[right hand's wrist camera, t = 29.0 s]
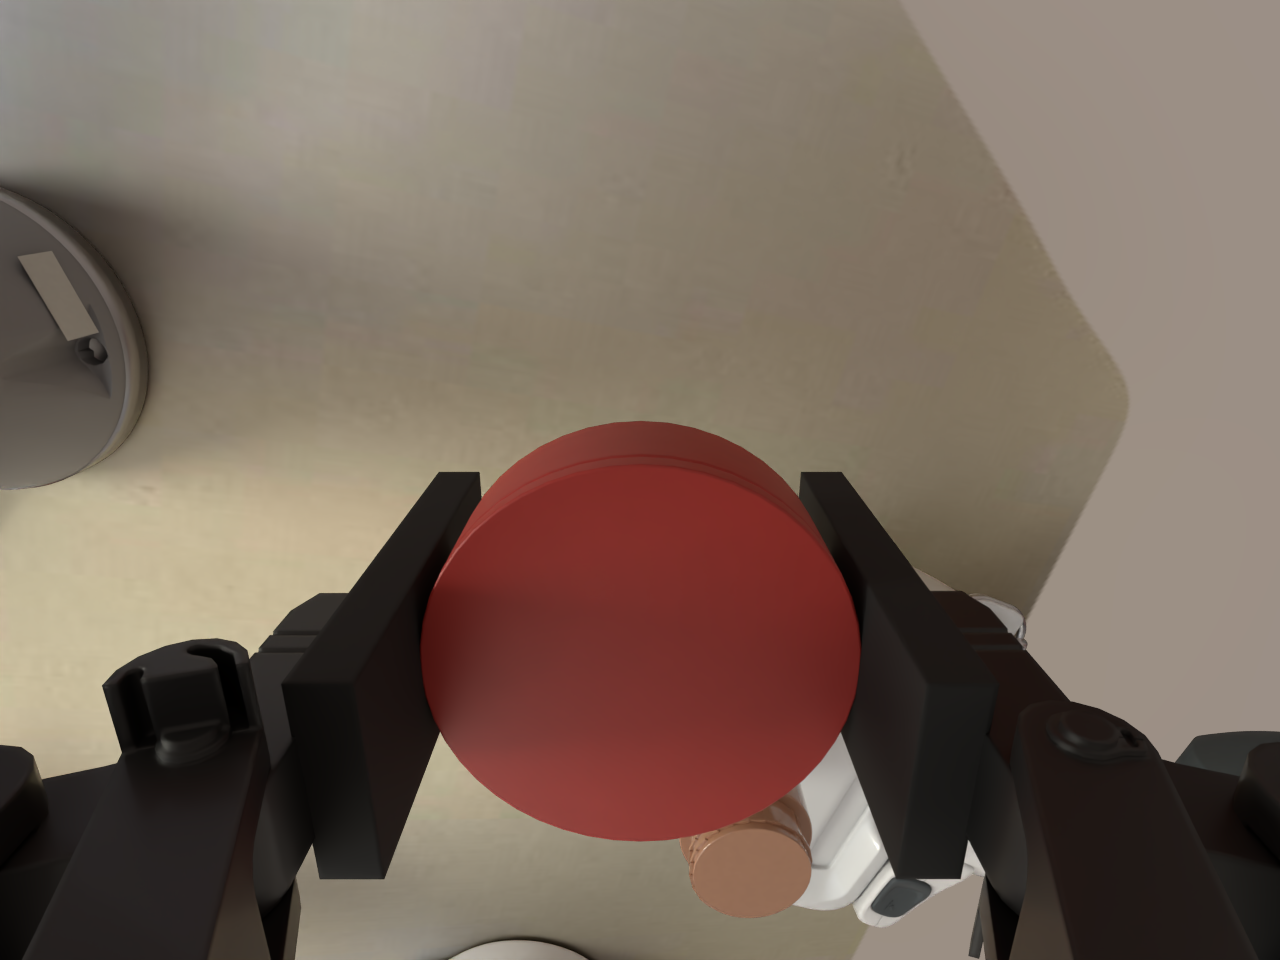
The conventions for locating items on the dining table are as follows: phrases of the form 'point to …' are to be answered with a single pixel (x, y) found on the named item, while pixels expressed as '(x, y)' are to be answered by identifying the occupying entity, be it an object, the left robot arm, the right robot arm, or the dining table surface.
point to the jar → (754, 860)
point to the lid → (640, 635)
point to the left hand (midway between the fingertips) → (706, 693)
